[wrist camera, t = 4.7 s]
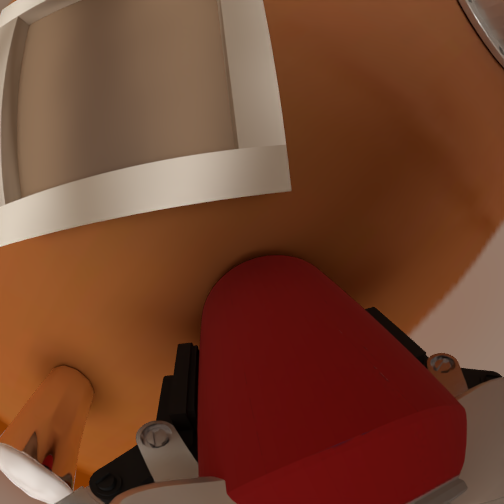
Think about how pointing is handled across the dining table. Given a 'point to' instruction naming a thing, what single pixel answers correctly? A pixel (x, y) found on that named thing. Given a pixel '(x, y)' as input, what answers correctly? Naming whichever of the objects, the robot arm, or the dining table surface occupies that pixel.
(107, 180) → the white square tray
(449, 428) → the beverage can
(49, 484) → the milkshake
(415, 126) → the dining table surface
